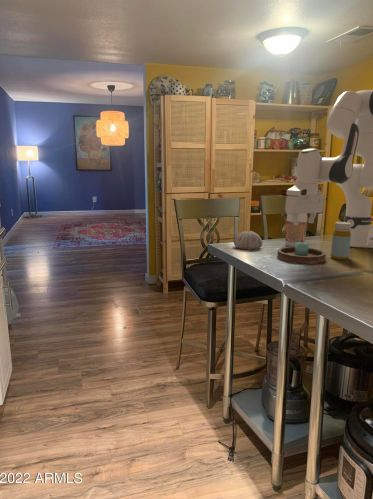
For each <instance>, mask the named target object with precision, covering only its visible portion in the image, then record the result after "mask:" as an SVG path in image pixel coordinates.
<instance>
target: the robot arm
mask: <svg viewBox="0 0 373 499" xmlns="http://www.w3.org/2000/svg"><path fill="white" fill-rule="evenodd" d="M326 120H327V121H326V127H327V129H328V131H329V132H330V134H331V135H333V136H334V137H335V138H338V139H341V140H343V144H342V149H341V153H340V155H338V156H336V157H324V156H322V155H321V154H320V149H318V148H305V149H302V150H300V151H299V153H298V156H297V162H296V169H295V170H296V173H295V174H296V179H295V182H294V183H295V184H294V185H293V186H292V187H290V188H288V189H286V192H285V193H286V195H287V196H286V199H285V210H284V211H285V213H286V215H288V214H290V215H292V218H293V220H294V225H299V223H300V221H298V216H299V214H305V213H306V214H309V216H310V217H309V218H307V224H308V223H309V224H314V222H315V218H316V216H317V213H319V212H322V211H323V209H324V196H323V192H322V191H321V189H319V182H323V183H324V182H325V183H334V184H336V186H338V187H340V189H341V190H342V192H343V193H344V196H345V201H346V202H345V203H346V204H345V206H346V207H345V215H344V217H343V222H348V223H351V228H350V233H351V240H350V247H353V248H368V249H369V248H371V249H373V225H372V222H373V216H371V214H372V213H371V212H372V211H371V210H372V206H373V205H372V204H373V202H372V200H371V198H370V197H369V196H366V194H364V193H362V191H361V188H367V189H368V188H369V189H373V89H364V90H358V91H354V90H346V91H344V92H343V93H341V94H340V95H339V96H338V97H337V99H336V100H335V102H334V104H333V106H332V108H331V110H330V113H329V114H328V117H327V119H326ZM355 155H356V156H357V157H360V158H362V159H363V162H364V163H354V159H355Z"/></svg>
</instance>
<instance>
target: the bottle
mask: <svg viewBox="0 0 373 499" xmlns="http://www.w3.org/2000/svg"><path fill="white" fill-rule="evenodd" d="M350 228H351V223H348V222H344V221H335V222H334V229H333V233H332V239H331V240H332V241H331V248H330V257H331V258H332V259H334V260H340V261H341V260H342V261H345V260H348V258H349V256H350V249H351V248H350V247H351V246H350V240H351V233H350Z"/></svg>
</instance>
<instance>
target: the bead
mask: <svg viewBox="0 0 373 499" xmlns="http://www.w3.org/2000/svg"><path fill="white" fill-rule="evenodd" d="M308 248H309V243H308V242H306V241H305V242H296V244H295V255H297V256H308Z"/></svg>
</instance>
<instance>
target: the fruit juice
mask: <svg viewBox="0 0 373 499" xmlns="http://www.w3.org/2000/svg"><path fill="white" fill-rule="evenodd" d="M286 215H287V216H286V222H285V223H286V227H285V238H284V239H285V240H284V241H285V242H284V245H285V247H295V244H296V242H305V243H306V238H307V228H308V227H307V225H308V213H305V214H299V216H298V221H300V223H299V225H294V220H293V218H292V215H290V214H286Z"/></svg>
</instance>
